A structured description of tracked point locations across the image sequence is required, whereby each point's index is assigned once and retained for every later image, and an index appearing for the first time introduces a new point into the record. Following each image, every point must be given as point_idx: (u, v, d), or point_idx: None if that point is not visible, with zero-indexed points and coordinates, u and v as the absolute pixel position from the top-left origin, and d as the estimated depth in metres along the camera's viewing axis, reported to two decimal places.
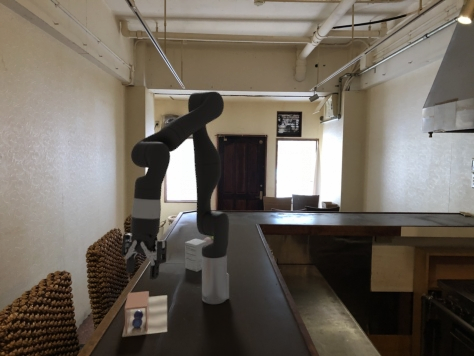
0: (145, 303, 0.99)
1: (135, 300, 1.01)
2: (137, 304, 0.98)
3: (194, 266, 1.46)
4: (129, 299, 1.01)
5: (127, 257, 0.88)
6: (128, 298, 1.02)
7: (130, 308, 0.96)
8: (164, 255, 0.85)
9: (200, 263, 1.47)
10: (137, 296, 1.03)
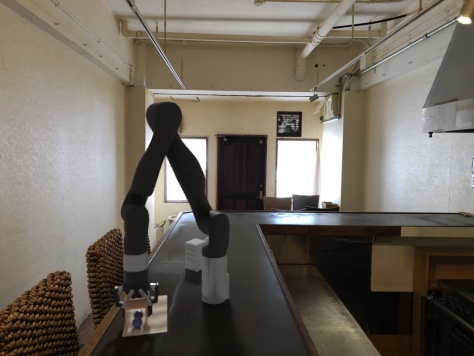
0: (145, 303, 0.99)
1: (135, 300, 1.01)
2: (137, 304, 0.98)
3: (194, 266, 1.46)
4: None
5: (124, 307, 1.00)
6: None
7: (130, 308, 0.96)
8: None
9: (200, 263, 1.47)
10: None
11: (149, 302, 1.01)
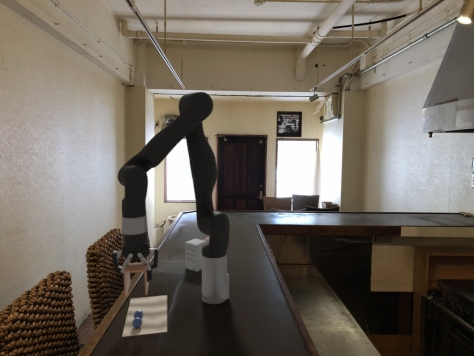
0: (144, 267, 0.98)
1: (134, 265, 0.99)
2: (136, 268, 0.97)
3: (194, 266, 1.46)
4: (128, 264, 1.00)
5: (123, 271, 0.99)
6: None
7: (129, 271, 0.95)
8: None
9: (200, 263, 1.47)
10: (136, 262, 1.02)
11: (148, 267, 1.00)
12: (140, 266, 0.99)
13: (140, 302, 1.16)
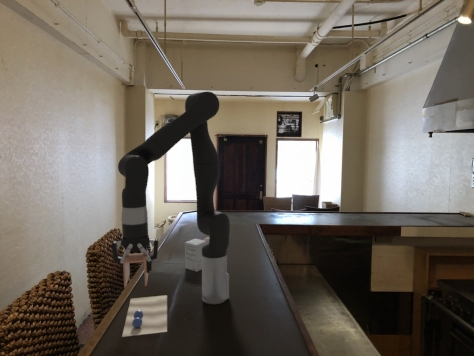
0: (144, 258, 0.97)
1: (134, 256, 0.99)
2: (136, 258, 0.97)
3: (194, 266, 1.46)
4: (128, 255, 1.00)
5: None
6: None
7: (129, 262, 0.95)
8: None
9: (200, 263, 1.47)
10: None
11: (148, 258, 1.00)
12: (140, 257, 0.98)
13: (140, 302, 1.16)
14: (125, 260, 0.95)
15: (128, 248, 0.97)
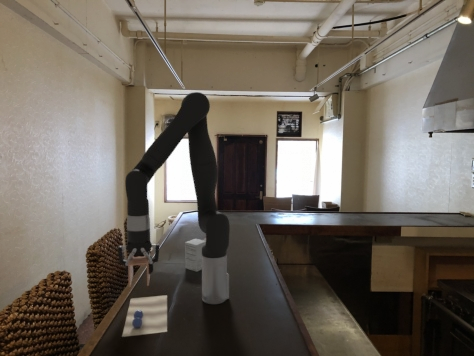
0: (146, 260, 1.09)
1: (137, 259, 1.11)
2: (139, 261, 1.08)
3: (194, 266, 1.46)
4: (132, 258, 1.11)
5: (127, 264, 1.10)
6: None
7: (133, 264, 1.07)
8: None
9: (200, 263, 1.47)
10: (139, 256, 1.13)
11: (150, 260, 1.11)
12: (143, 260, 1.10)
13: (140, 302, 1.16)
14: (130, 263, 1.07)
15: (132, 252, 1.09)
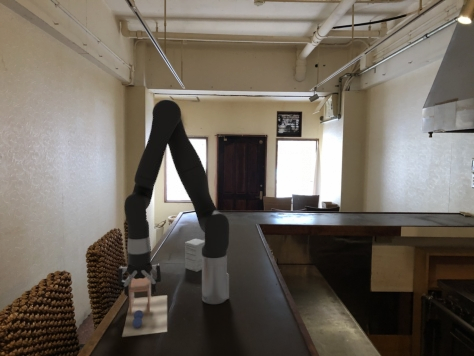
0: (147, 287, 1.10)
1: (138, 284, 1.12)
2: (140, 287, 1.09)
3: (194, 266, 1.46)
4: (133, 283, 1.13)
5: (126, 285, 1.11)
6: (132, 283, 1.13)
7: (134, 291, 1.08)
8: None
9: (200, 263, 1.47)
10: (140, 281, 1.15)
11: (153, 281, 1.12)
12: (144, 285, 1.11)
13: (140, 302, 1.16)
14: (131, 289, 1.08)
15: (133, 274, 1.10)
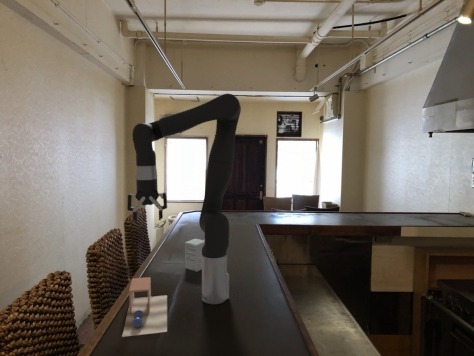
0: (147, 287, 1.10)
1: (138, 284, 1.12)
2: (140, 287, 1.09)
3: (194, 266, 1.46)
4: (133, 283, 1.13)
5: (135, 210, 1.19)
6: (132, 283, 1.13)
7: (134, 291, 1.08)
8: None
9: (200, 263, 1.47)
10: (140, 281, 1.15)
11: (160, 207, 1.21)
12: (144, 285, 1.11)
13: (140, 302, 1.16)
14: (131, 289, 1.08)
15: (141, 200, 1.18)
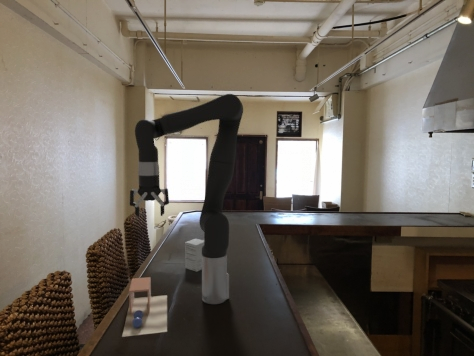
0: (147, 287, 1.10)
1: (138, 284, 1.12)
2: (140, 287, 1.09)
3: (194, 266, 1.46)
4: (133, 283, 1.13)
5: (137, 206, 1.20)
6: (132, 283, 1.13)
7: (134, 291, 1.08)
8: None
9: (200, 263, 1.47)
10: (140, 281, 1.15)
11: (161, 203, 1.22)
12: (144, 285, 1.11)
13: (140, 302, 1.16)
14: (131, 289, 1.08)
15: (143, 195, 1.20)
